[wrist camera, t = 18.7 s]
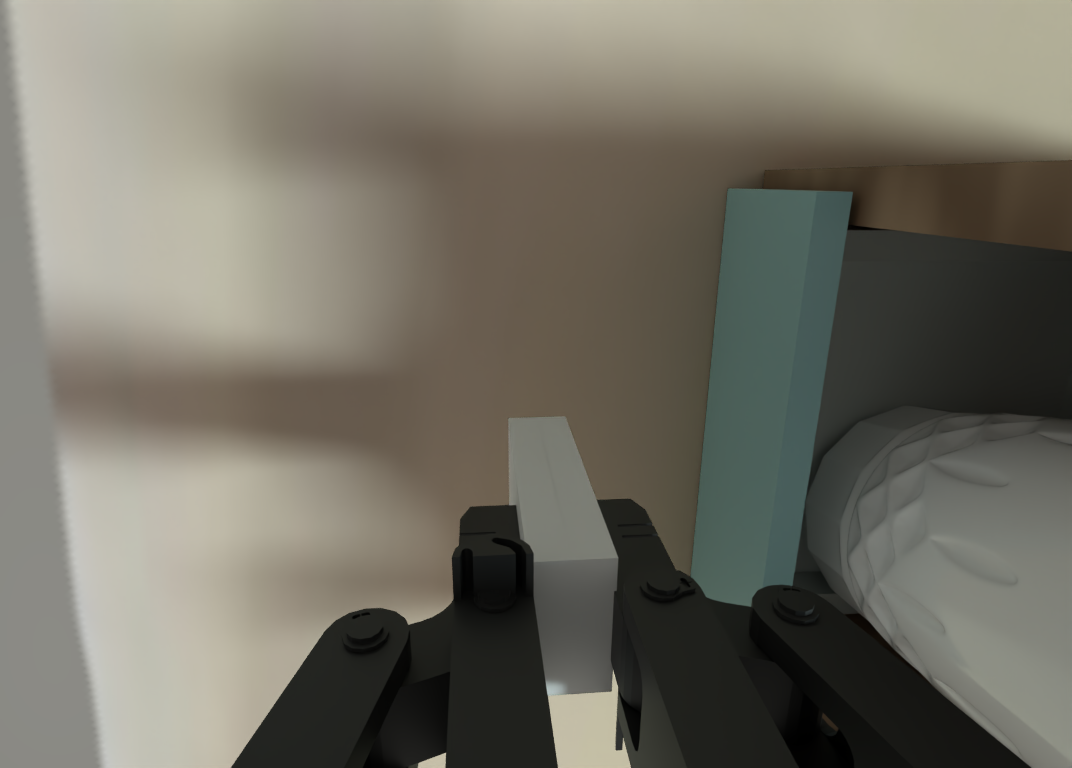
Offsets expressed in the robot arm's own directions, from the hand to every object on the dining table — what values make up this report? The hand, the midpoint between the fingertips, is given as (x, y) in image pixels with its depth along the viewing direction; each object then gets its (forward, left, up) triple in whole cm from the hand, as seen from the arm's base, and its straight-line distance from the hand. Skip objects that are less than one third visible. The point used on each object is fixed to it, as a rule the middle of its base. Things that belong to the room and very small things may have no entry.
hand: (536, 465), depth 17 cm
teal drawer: (0, +12, -3) cm, 13 cm away
